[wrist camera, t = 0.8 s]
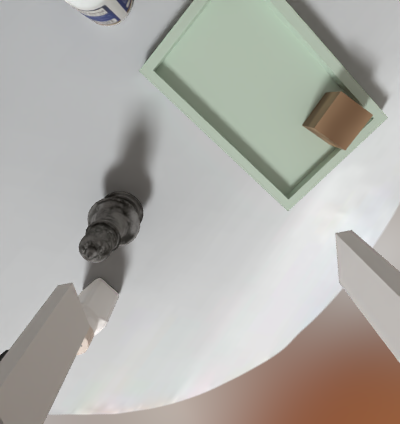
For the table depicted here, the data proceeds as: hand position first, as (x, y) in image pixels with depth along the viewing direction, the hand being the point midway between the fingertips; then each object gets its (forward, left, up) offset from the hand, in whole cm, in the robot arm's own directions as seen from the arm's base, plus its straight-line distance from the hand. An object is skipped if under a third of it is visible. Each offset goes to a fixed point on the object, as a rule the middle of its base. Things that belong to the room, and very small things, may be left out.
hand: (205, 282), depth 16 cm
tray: (-2, +11, -23) cm, 26 cm away
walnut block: (+5, +14, -22) cm, 27 cm away
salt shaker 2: (0, -21, -23) cm, 31 cm away
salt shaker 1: (-5, -10, -23) cm, 26 cm away
